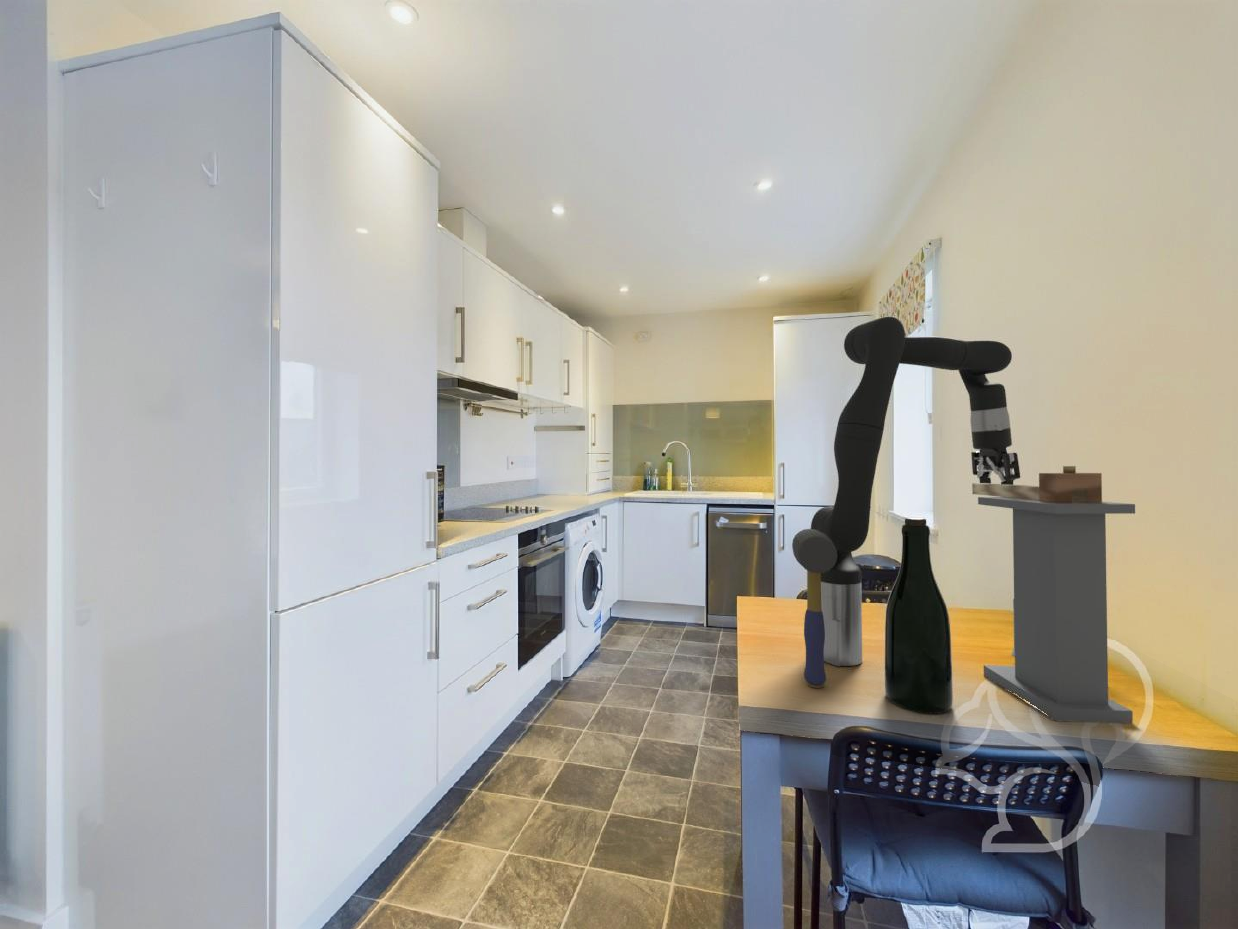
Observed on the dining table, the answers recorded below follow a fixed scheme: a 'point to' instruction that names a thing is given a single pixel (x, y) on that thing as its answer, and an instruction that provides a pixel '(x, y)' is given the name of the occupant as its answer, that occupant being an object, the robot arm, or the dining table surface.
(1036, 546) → the plinth
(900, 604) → the dark green wine bottle
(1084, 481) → the marking gauge
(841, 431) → the robot arm
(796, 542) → the rubber mallet
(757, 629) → the dining table surface
